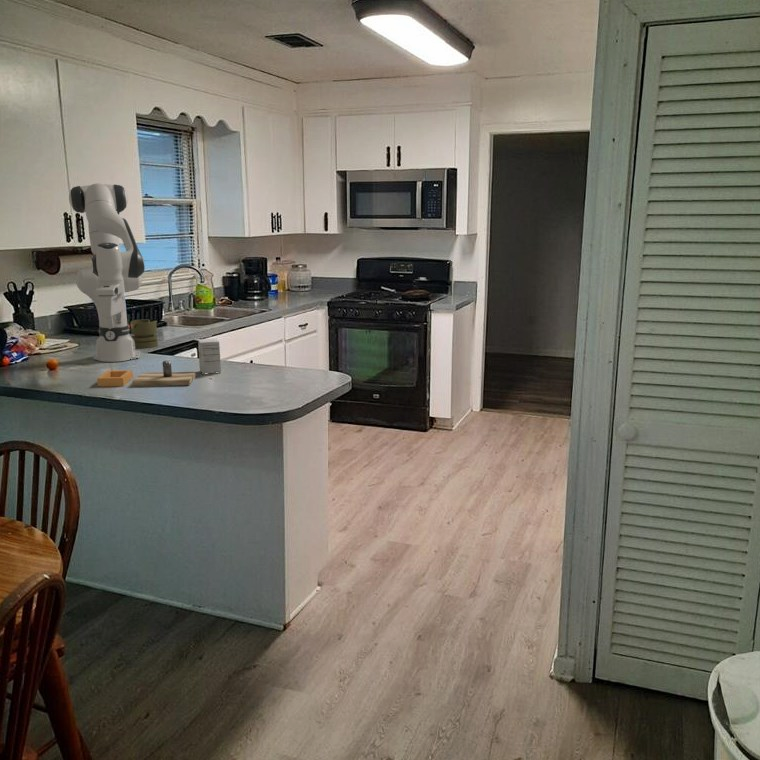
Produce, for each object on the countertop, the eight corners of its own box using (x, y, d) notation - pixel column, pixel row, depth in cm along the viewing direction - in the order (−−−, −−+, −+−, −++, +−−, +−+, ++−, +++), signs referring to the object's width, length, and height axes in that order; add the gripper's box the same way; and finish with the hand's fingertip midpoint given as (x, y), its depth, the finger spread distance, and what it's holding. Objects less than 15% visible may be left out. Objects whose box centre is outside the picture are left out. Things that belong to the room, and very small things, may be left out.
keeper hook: (164, 375, 262) (163, 360, 261) (172, 375, 262) (171, 359, 261) (161, 378, 258) (160, 362, 256) (170, 378, 258) (169, 362, 256)
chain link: (108, 378, 267) (107, 370, 266) (133, 377, 267) (132, 370, 267) (98, 386, 254) (97, 378, 253) (123, 386, 255) (123, 377, 254)
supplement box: (199, 371, 279) (197, 339, 276) (218, 369, 281) (216, 338, 278) (201, 374, 272) (199, 342, 269) (221, 373, 274) (219, 341, 272)
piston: (138, 323, 321) (125, 321, 328) (141, 349, 324) (127, 346, 331) (160, 320, 329) (147, 318, 336) (162, 346, 332) (149, 343, 339)
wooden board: (142, 378, 267) (141, 372, 267) (196, 376, 269) (196, 371, 268) (132, 386, 253) (132, 381, 253) (189, 385, 255) (189, 380, 254)
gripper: (111, 286, 268) (114, 322, 271) (93, 291, 249) (97, 330, 252) (128, 285, 269) (131, 322, 272) (112, 290, 249) (115, 329, 252)
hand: (115, 326), depth 262 cm, fingers open, 8 cm apart
